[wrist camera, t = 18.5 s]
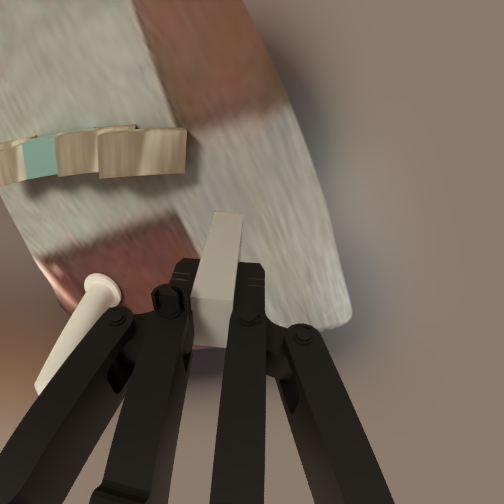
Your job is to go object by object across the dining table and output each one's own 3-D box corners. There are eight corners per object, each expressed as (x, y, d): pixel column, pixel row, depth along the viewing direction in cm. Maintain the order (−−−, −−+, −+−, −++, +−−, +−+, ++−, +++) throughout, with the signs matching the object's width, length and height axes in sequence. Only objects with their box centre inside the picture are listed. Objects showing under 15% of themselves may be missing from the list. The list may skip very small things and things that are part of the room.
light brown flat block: (43, 165, 35) (4, 170, 35) (39, 134, 33) (-1, 142, 33) (35, 171, 33) (-4, 175, 33) (30, 138, 31) (-9, 146, 31)
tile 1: (182, 167, 35) (101, 172, 32) (184, 127, 32) (99, 132, 29) (184, 173, 33) (99, 178, 30) (186, 131, 31) (96, 136, 27)
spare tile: (97, 163, 35) (32, 174, 32) (94, 127, 32) (27, 139, 29) (94, 168, 33) (27, 179, 30) (91, 130, 30) (21, 143, 27)
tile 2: (136, 163, 35) (62, 171, 31) (135, 124, 32) (58, 133, 29) (135, 168, 33) (58, 176, 30) (135, 127, 30) (54, 137, 27)
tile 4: (53, 169, 34) (0, 183, 32) (48, 135, 32) (-7, 152, 29) (49, 173, 33) (-6, 188, 30) (43, 139, 30) (-13, 156, 27)
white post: (122, 309, 49) (69, 434, 28) (87, 298, 48) (27, 414, 27) (121, 279, 45) (55, 414, 24) (84, 268, 44) (8, 390, 23)
